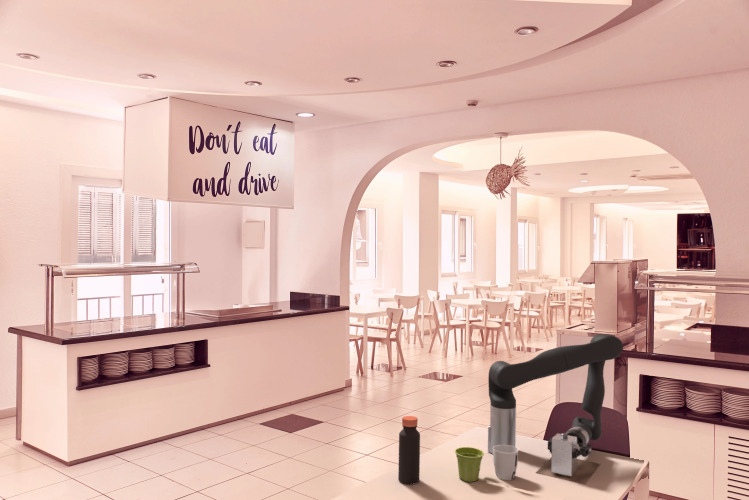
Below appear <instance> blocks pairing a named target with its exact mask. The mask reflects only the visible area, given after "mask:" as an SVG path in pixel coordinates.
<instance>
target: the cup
mask: <svg viewBox="0 0 749 500" xmlns="http://www.w3.org/2000/svg"><path fill="white" fill-rule="evenodd" d="M492 456H493V457H492V458H493V460H492V461H493V466H494V472H495V476H496V478H497V479H499V480H502V481H512V480H514V479H515V477H516V474H517V469H518V460H519V448H518V447H516V446H515V447H514V446H510V445H496V446H494V447H493V454H492Z"/></svg>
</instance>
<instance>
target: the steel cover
mask: <svg viewBox="0 0 749 500" xmlns="http://www.w3.org/2000/svg"><path fill="white" fill-rule="evenodd" d="M551 438H552V454H551V457H552V470H551V472H554V473H559V474H563V475H568V476H572V475H573V474H574V473H575V471H576V470H577V459H578V457H577V458H575V459H573V458H572V452H573V451H574V450H575V449H576V447H577V437H574V436H569V435H568V434H566V432H562V433H559V432H557V433H556V434H555V435H554V436H552V437H551Z"/></svg>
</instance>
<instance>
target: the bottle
mask: <svg viewBox="0 0 749 500" xmlns="http://www.w3.org/2000/svg"><path fill="white" fill-rule="evenodd" d="M401 419H402V420H401V421H402V422H401V424H402V425H401V426H402V429H401V430H400V431H399V433H398V472H397V473H398V482H400V483H401V484H405V485H416V484H417V483H419V482H420V469H421V468H420V467H421V466H420V464H421V463H420V462H421V461H420V458H421V434H420V432H419V431H418V430H417V427H418V417H416V416H413V415H405V416H402V418H401Z"/></svg>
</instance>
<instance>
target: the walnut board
mask: <svg viewBox="0 0 749 500" xmlns="http://www.w3.org/2000/svg"><path fill="white" fill-rule="evenodd" d="M600 466H601V463H599V462H594V461H589V460H585V459H584V460H583V459H581V458H580V459H579V458H577V470H576V471H575V473H574V474H573V475H572V476H568V475H567V476H565V475H561V474H559V473H554V472H551V470H552V456H551V457H550V458H549V459H548V460H547V461H545V463H544V464H542V465H541V467H540V468H538V470H536V471H535V474H538V475H542V476H547V477H551V478H555V479H560V480H565V481H568V482H572V483H578V484H582V485H586V484H587V483H588V482H589V481H590V479H591V478H592V477H593V476H594V474H595V472H596V471H597V470H598V468H599V467H600Z"/></svg>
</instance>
